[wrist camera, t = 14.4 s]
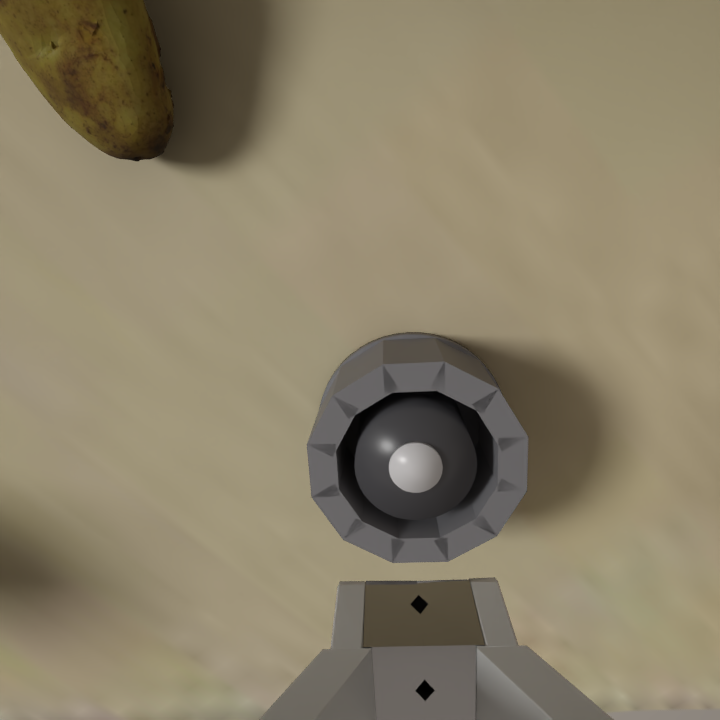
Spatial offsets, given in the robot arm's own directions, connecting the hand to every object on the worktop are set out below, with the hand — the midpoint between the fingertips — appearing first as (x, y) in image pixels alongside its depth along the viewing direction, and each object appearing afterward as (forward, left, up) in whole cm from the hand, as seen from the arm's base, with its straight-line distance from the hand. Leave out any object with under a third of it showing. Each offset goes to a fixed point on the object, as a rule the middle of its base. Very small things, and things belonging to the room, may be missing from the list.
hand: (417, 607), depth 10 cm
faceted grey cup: (+4, +1, -21) cm, 21 cm away
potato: (-17, -14, -21) cm, 31 cm away
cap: (+4, +1, -20) cm, 20 cm away
